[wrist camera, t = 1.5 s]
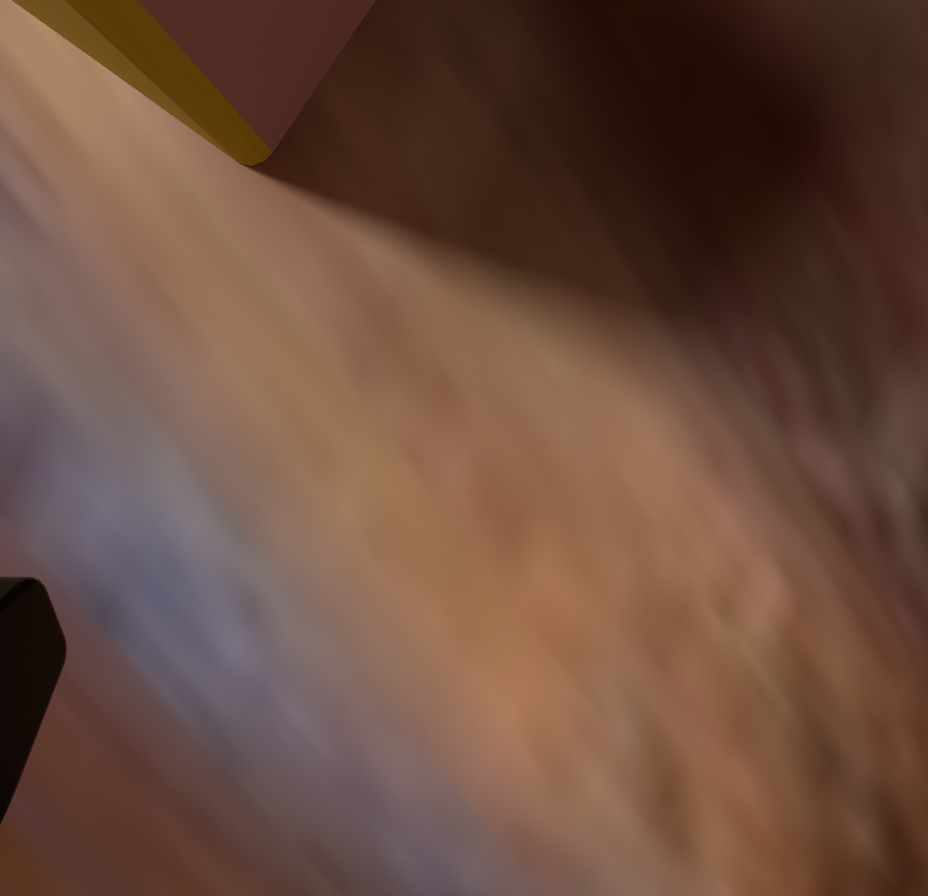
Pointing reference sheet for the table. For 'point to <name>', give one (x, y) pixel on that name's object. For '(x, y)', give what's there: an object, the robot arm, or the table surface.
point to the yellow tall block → (214, 58)
